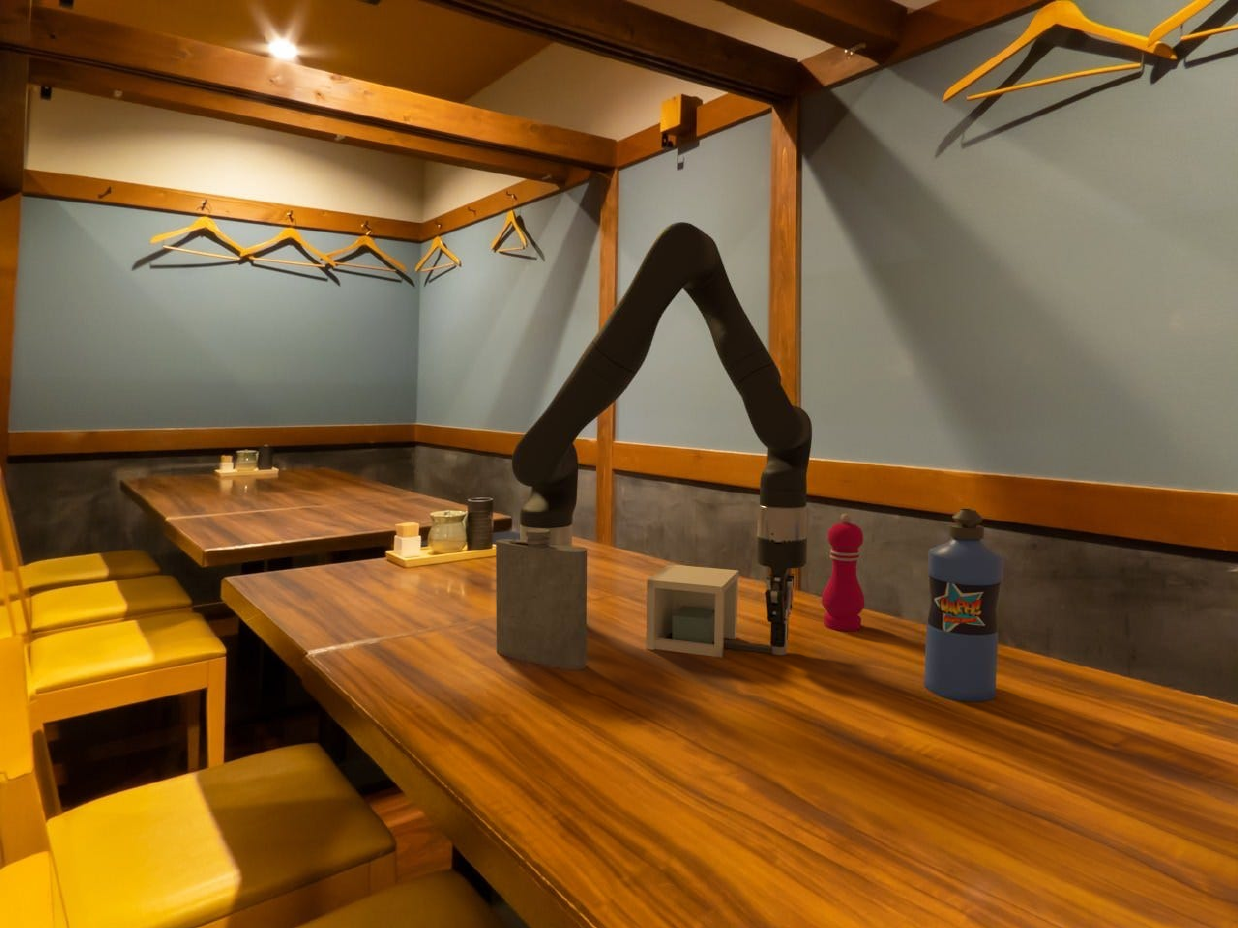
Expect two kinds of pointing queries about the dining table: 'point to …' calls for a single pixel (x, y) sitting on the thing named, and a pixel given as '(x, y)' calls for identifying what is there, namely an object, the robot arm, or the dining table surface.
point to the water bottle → (963, 613)
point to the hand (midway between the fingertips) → (779, 642)
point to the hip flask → (541, 601)
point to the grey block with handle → (700, 629)
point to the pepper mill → (843, 578)
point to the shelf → (691, 605)
